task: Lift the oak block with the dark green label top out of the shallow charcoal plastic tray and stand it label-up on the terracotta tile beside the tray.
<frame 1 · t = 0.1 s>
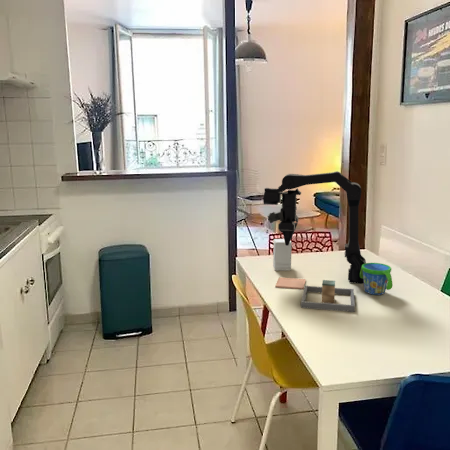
hand: (288, 242, 201), 15 cm above the table, tool pointing down, fingers open, 9 cm apart
snack cup: (374, 292, 185), on the table
tile: (290, 283, 195), on the table
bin: (328, 300, 176), on the table
oak block: (328, 291, 175), in the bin
supplement box: (282, 268, 216), on the table
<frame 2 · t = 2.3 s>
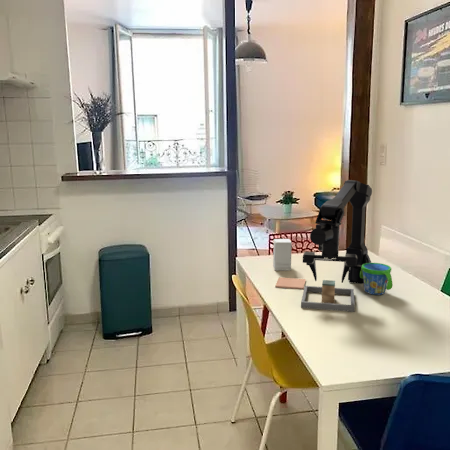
hand: (328, 281, 175), 7 cm above the table, tool pointing down, fingers open, 9 cm apart
nothing on the table moved.
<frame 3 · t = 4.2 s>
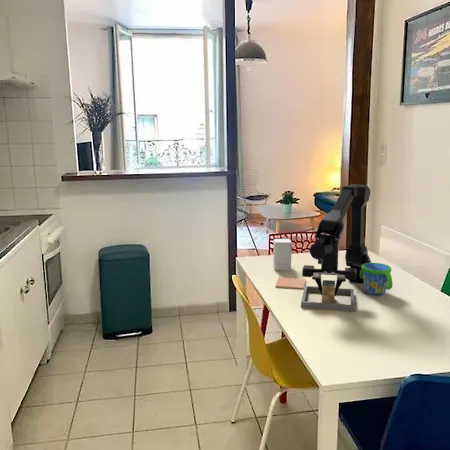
hand: (328, 295, 176), 2 cm above the table, tool pointing down, fingers closed on oak block, 4 cm apart
oak block: (328, 291, 175), in the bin, touching gripper
everything else where it was.
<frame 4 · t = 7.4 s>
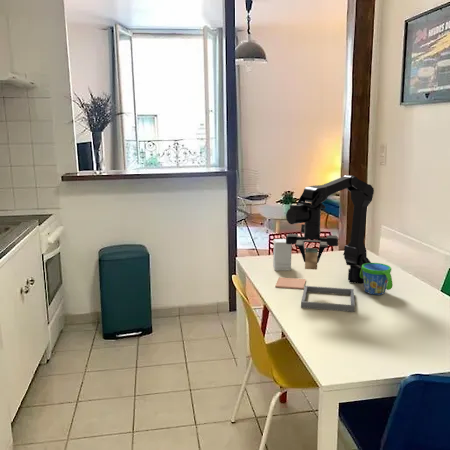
hand: (311, 262, 182), 12 cm above the table, tool pointing down, fingers closed on oak block, 4 cm apart
oak block: (311, 258, 182), point 13 cm above the table, touching gripper
everything else where it was.
when the fingers open (4 cm above the table, at t = 10.6 s): oak block drops 1 cm, resting on tile.
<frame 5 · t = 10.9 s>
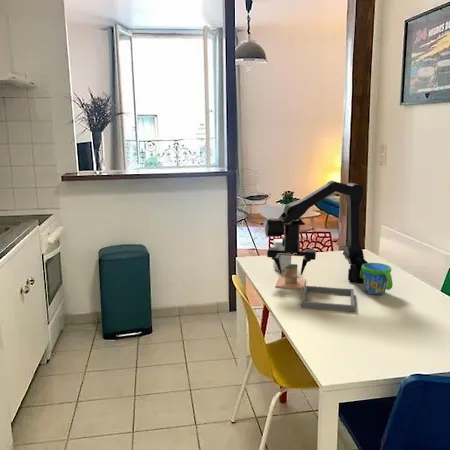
hand: (291, 274, 194), 4 cm above the table, tool pointing down, fingers open, 8 cm apart
oak block: (291, 274, 194), on the tile, point 4 cm above the table
everything else where it was.
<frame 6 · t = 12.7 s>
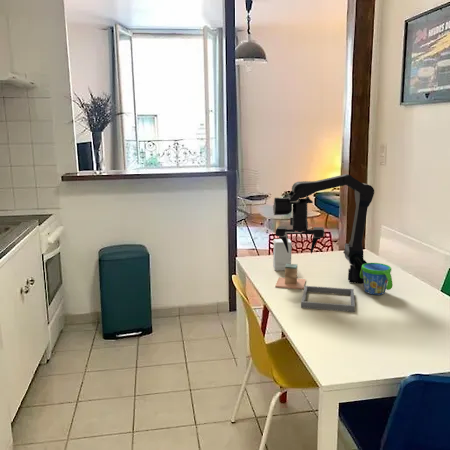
hand: (299, 252, 194), 12 cm above the table, tool pointing down, fingers open, 9 cm apart
nothing on the table moved.
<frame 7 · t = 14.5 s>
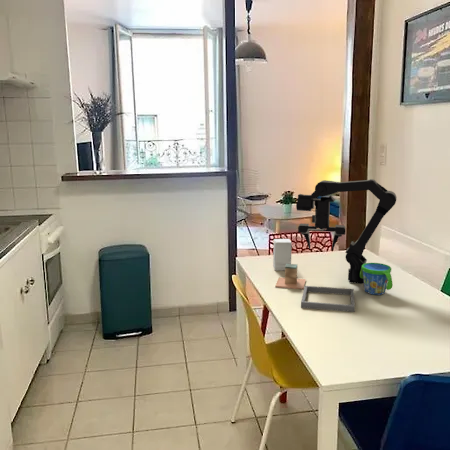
hand: (320, 249, 200), 12 cm above the table, tool pointing down, fingers open, 9 cm apart
nothing on the table moved.
at the end: oak block inside the target area on the tile (0.1 cm from its centre), point 4.1 cm above the tile's base; oak block tilted 0°; the gripper is holding nothing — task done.
